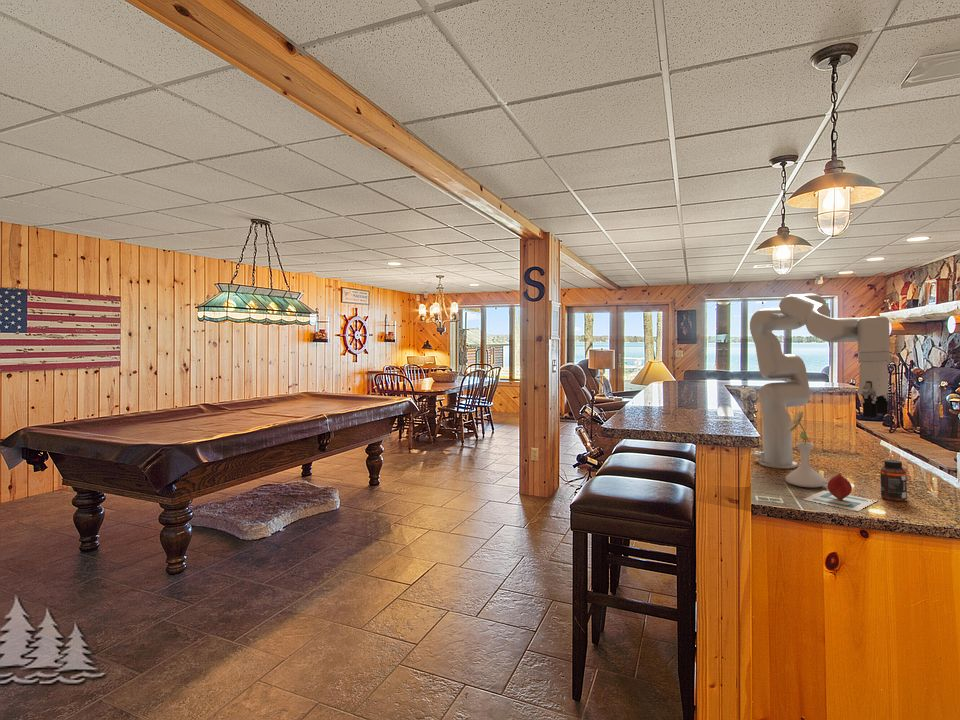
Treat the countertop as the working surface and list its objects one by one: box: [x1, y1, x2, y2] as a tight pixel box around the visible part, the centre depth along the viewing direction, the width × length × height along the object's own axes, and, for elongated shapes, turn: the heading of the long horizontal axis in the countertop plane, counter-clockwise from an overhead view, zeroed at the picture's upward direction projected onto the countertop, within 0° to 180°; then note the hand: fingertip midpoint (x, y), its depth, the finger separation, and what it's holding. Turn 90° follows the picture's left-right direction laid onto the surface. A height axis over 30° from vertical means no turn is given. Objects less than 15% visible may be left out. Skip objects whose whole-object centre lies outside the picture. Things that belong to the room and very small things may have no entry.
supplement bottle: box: [879, 459, 908, 502], centre depth 147 cm, size 6×6×11 cm
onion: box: [827, 472, 853, 500], centre depth 147 cm, size 6×6×8 cm
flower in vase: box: [784, 410, 828, 488], centre depth 163 cm, size 13×11×25 cm
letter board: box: [802, 490, 878, 512], centre depth 147 cm, size 14×14×1 cm
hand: (875, 415), depth 149 cm, fingers open, 9 cm apart
